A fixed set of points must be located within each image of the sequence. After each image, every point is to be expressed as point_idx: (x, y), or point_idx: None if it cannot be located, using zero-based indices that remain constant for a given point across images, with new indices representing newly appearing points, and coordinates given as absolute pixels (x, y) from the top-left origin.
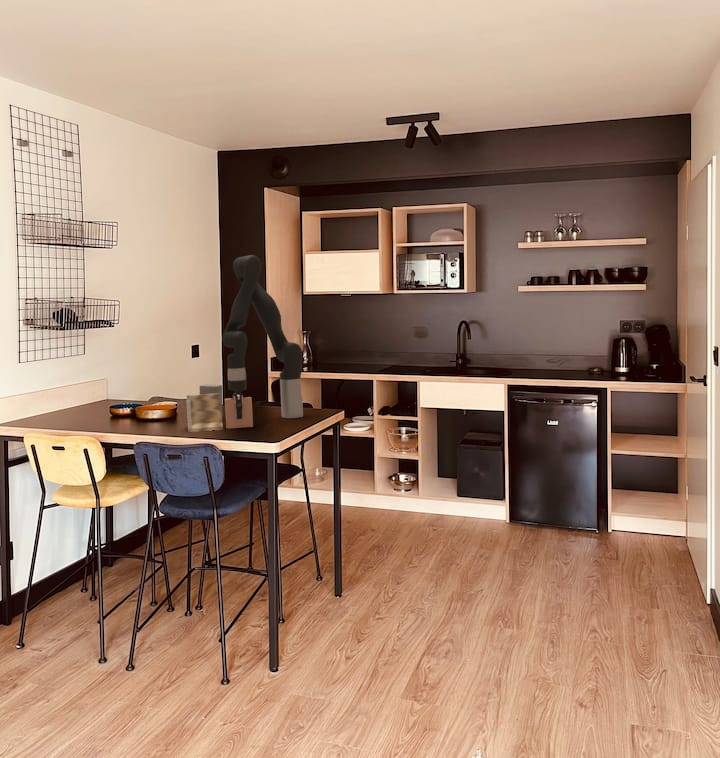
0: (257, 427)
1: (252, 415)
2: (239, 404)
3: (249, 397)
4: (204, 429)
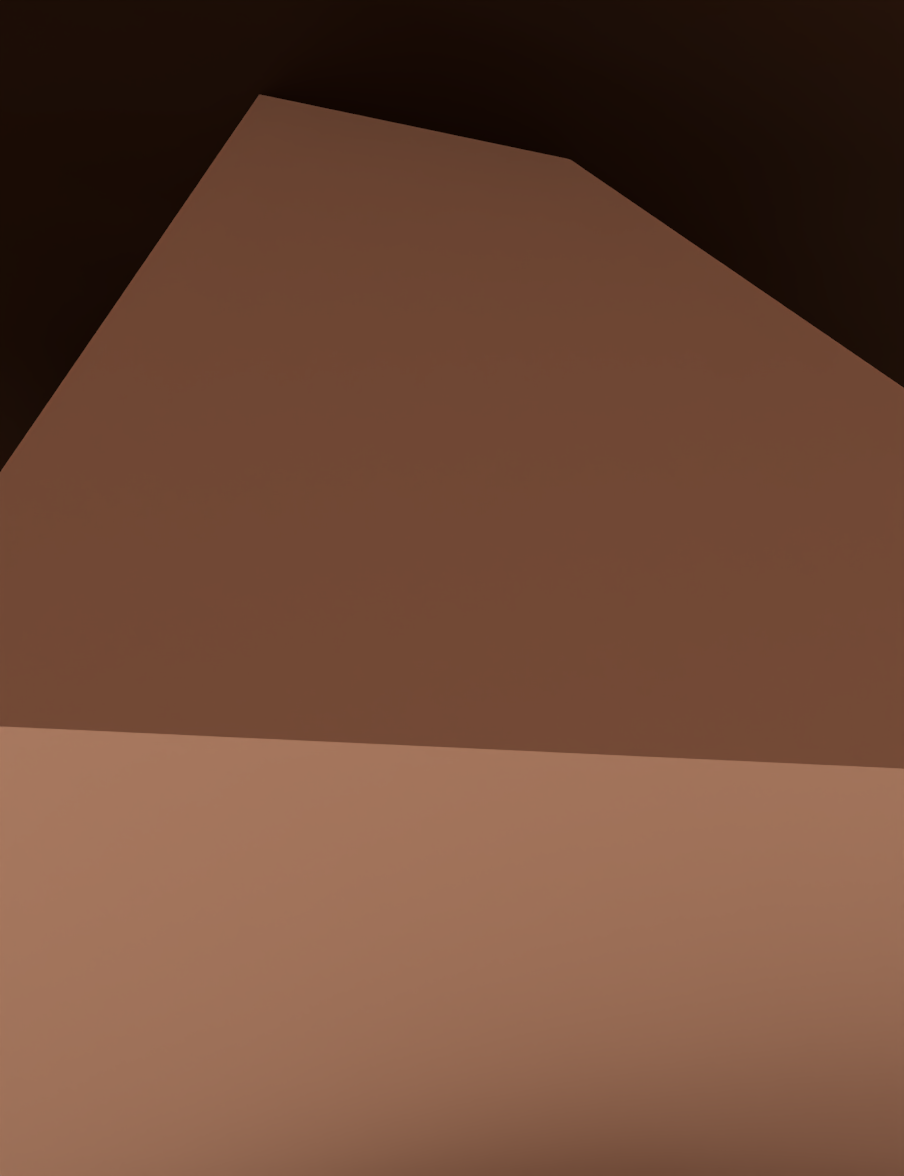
0: (762, 68)
1: (682, 238)
2: None
3: (432, 928)
4: None
